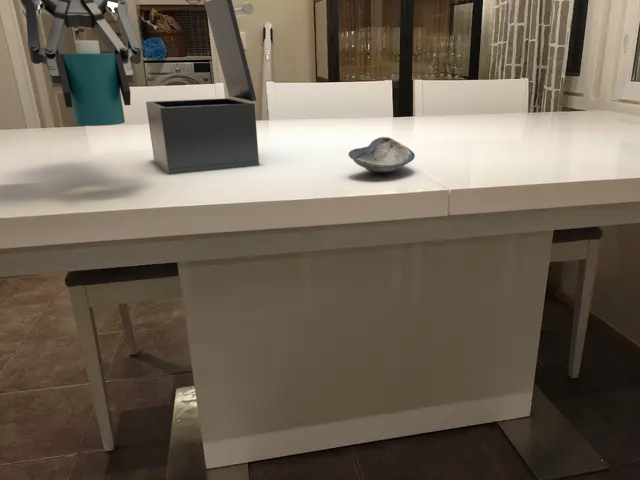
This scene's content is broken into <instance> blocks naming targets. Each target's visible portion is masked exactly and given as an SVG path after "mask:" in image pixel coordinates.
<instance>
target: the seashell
mask: <svg viewBox="0 0 640 480" xmlns="http://www.w3.org/2000/svg"><path fill="white" fill-rule="evenodd" d="M348 157H349V158H350V159H351V160H352V161H353V162H354V163H355V164H356V165H358V166H360V167H361V168H364V169H365V170H367V171H369V172H373V173H378V174H385V173H390V172H394V171H397V170H399V169H401V168H402V167H404V166H406V165H408V164H410V163H411V162H412V161H414V159H415V157H416V155H415V152H414V151H412V150H411V148H409V147H407V146H406V145H404V144H402V143H401V142H399V141H397V140H395V139H393V138H391V137H388V136H381V137H377V138H374V140H372V141H370V143H369V144H368V145H367V146H363V147H358V148H354V149H351V150H350V151H349V152H348Z"/></svg>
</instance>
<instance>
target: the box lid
mask: <svg viewBox="0 0 640 480" xmlns="http://www.w3.org/2000/svg"><path fill="white" fill-rule="evenodd" d="M203 4H204V7H205V12H206V14H207V19H208V23H209V27H210V30H211V33H212V37H213V42H214V44H215V49H216V52H217V56H218V59H219V63H220V67H221V71H222V75H223V78H224V82H225V86H226V89H227V93H228V97H230V98H234V99H235V98H236V99H239V100H243V101H248V102H256V101H257V97H256V92H255V88H254V85H253V82H252V77H251V72H250V68H249V64H248V60H247V56H246V52H245V48H244V44H243V40H242V36H241V33H240V28H239V24H238V20H237V18H240V17H246V16H247V17H248V16H252V14H254V11H255V7H254V5H253V3H251V2H249V1H247V2H242V3H238V4H233V0H207V1H204V2H203Z"/></svg>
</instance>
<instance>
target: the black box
mask: <svg viewBox="0 0 640 480" xmlns="http://www.w3.org/2000/svg"><path fill="white" fill-rule="evenodd" d="M145 106H146V113H147V120H148V121H147V122H148V127H149V135H150V141H151V148H152V155H153V162H154V163H155V164H156V165H157V166H159V167H160V168H161V169H162V170H163V171H165V173H166V174H168V175H170V176H171V175H180V174H189V173H190V174H191V173H199V172H209V171H210V172H211V171H219V170H220V171H221V170H229V169H239V168H240V169H241V168H250V167H259V166H260V157H259V147H258V145H259V143H258V131H257V118H256V105H255V103H253V102H251V101H246V100H242V99H238V98H236V99H235V98H233V97H229V98H228V97H226V98H224V97H223V98H204V99H203V98H201V99H200V98H199V99H179V100H177V99H176V100H154V101H153V100H152V101H145Z"/></svg>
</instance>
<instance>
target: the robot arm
mask: <svg viewBox="0 0 640 480" xmlns="http://www.w3.org/2000/svg"><path fill="white" fill-rule="evenodd" d="M20 6H21V11H22V14H23V15H24V16H23V17H25V20H26V31H27V32H26V36H27V46H28V47H27V48H28V52H29V53H28V54H29V57H30V62H31V63H32V64H34V65H38V64H41V63H42V64H44V65H46V67H47V70H48V75H49V79H50V82H51V83H52V84H53V85H55V84H56V85H58V84H60V85H61V91H62V96H63V99H64V103H65V108H72V99H71V92H70V87H69V83H68V78H67V74H66V69H65V65H64V60H63V56H62V54H63V53H62V50H63V47H64V43H65V39H66V35H68V33H69V28H76V27H82V28H90V30H91V31H92V33H93V34H94V35H97V36H98V38H99V39H100V40H101V42H102V43H103V44H104V46H105V47H106V49H107V50H108V52H109V53H110V54H115V58H116V65H117V72H118V79H119V85H120V92H121V98H122V102H123V105H124V106H131V88H130V85H129V83H130V84H131V83H134V74H135V73H134V68H133V66H132V64H135V65H139V64H142V63H141V62H142V47H141V44H140V42H139V39H138V37H137V33H136V31H135V29H134V27H133V25H132V22H131V19H130V17H129V15H128V1H127V0H118V1H117V2H113V1H109V0H20ZM42 10H44V11H46V12H47V13H48V14H49V15H50V16H52V17H53V21H52V24H51V28H50V31H49V34H48V37H47V41H46V45H45V48H44V47H41V39H40V38H41V37H40V24H39V18H40V15H42ZM107 13H110V14H111V16H112V18H113V19H114V21H115V22H117V26H118V29H119V31H120V34H121V37H122V39H123V41H124V43H123V41H122V40H121V39H120V38H119V36H118V34H117V33H116V32H115V30H114V29H113V28H112V27H111V26H110V24H109V23H108V22H107V20H106V19H105V17H104V16H105V15H106V14H107Z"/></svg>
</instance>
